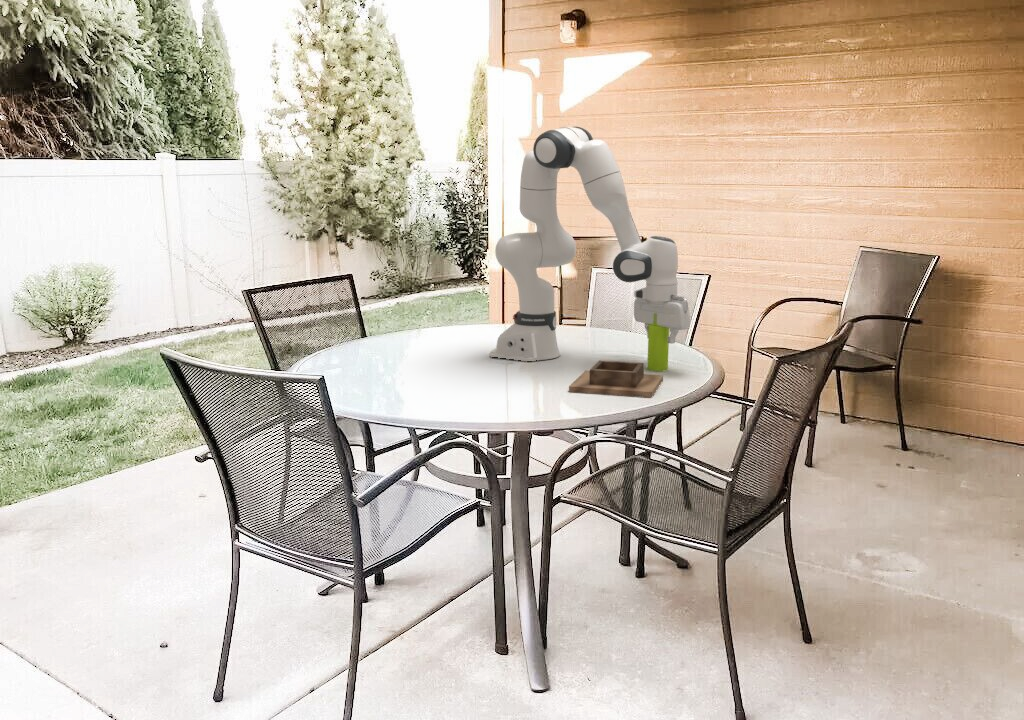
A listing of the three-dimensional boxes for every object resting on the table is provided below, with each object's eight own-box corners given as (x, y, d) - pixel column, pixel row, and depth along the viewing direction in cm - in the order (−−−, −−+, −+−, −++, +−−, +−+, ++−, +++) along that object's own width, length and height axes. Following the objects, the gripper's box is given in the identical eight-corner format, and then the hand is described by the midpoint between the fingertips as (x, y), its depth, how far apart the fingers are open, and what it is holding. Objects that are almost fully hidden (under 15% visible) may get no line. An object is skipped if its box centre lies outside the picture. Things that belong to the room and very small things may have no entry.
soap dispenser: (671, 371, 225) (674, 303, 221) (647, 370, 226) (649, 302, 222) (671, 367, 231) (673, 300, 226) (647, 366, 232) (649, 299, 228)
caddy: (568, 391, 206) (568, 371, 205) (585, 375, 223) (585, 356, 222) (652, 397, 199) (652, 376, 198) (662, 380, 216) (663, 361, 214)
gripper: (695, 296, 216) (694, 345, 219) (646, 289, 233) (646, 334, 236) (679, 298, 213) (678, 348, 216) (630, 291, 230) (630, 337, 233)
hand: (661, 340), depth 226 cm, fingers open, 7 cm apart
